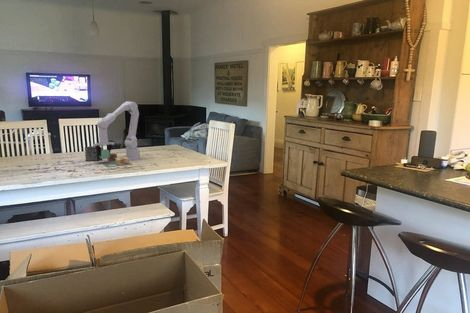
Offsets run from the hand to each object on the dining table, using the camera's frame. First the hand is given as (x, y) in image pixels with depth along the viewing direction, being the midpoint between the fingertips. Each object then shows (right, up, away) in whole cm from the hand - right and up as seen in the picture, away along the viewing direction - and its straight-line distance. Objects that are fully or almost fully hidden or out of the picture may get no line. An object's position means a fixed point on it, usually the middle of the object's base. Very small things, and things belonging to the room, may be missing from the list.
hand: (104, 155), depth 257 cm
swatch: (+9, -7, -10) cm, 15 cm away
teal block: (0, -2, 0) cm, 2 cm away
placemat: (+11, -7, -3) cm, 13 cm away
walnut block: (+3, -4, +9) cm, 10 cm away
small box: (-11, -4, +9) cm, 15 cm away
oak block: (+14, -6, -3) cm, 15 cm away
